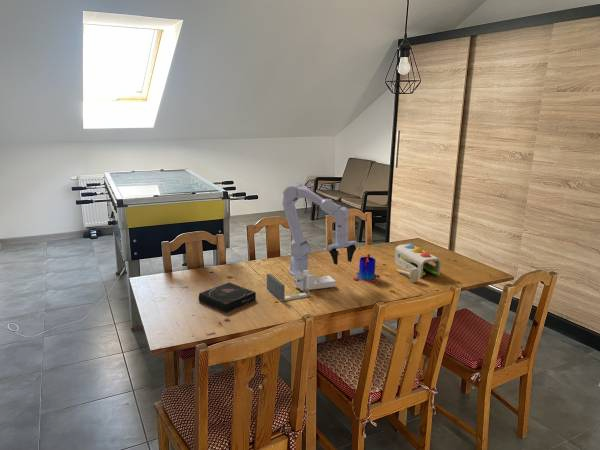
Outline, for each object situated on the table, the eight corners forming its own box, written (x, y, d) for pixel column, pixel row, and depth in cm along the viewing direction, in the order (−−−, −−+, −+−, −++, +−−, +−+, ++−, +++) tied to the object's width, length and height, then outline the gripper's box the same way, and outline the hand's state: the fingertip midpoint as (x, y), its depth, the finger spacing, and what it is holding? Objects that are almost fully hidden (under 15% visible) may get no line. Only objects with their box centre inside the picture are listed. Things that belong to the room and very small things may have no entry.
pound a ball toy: (382, 264, 241) (383, 242, 238) (412, 261, 247) (414, 239, 244) (411, 284, 215) (414, 259, 212) (445, 280, 221) (447, 256, 218)
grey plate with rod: (266, 288, 205) (266, 274, 204) (292, 284, 211) (293, 269, 209) (281, 301, 193) (281, 285, 191) (308, 296, 198) (308, 281, 197)
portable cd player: (228, 290, 204) (228, 282, 203) (255, 301, 193) (255, 292, 192) (198, 301, 192) (198, 292, 191) (226, 313, 181) (225, 304, 180)
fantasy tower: (376, 284, 214) (378, 259, 211) (351, 280, 218) (353, 256, 215) (380, 275, 225) (382, 252, 222) (357, 272, 228) (358, 249, 225)
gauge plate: (290, 284, 207) (290, 270, 205) (296, 283, 209) (297, 269, 207) (302, 294, 197) (302, 279, 195) (308, 292, 199) (309, 277, 197)
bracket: (308, 291, 204) (309, 275, 202) (302, 286, 210) (303, 270, 208) (335, 288, 208) (335, 272, 206) (328, 282, 215) (329, 267, 213)
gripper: (332, 238, 202) (333, 267, 205) (360, 233, 208) (360, 262, 211) (324, 235, 208) (325, 263, 211) (351, 230, 215) (352, 258, 218)
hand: (342, 262), depth 212 cm, fingers open, 7 cm apart
